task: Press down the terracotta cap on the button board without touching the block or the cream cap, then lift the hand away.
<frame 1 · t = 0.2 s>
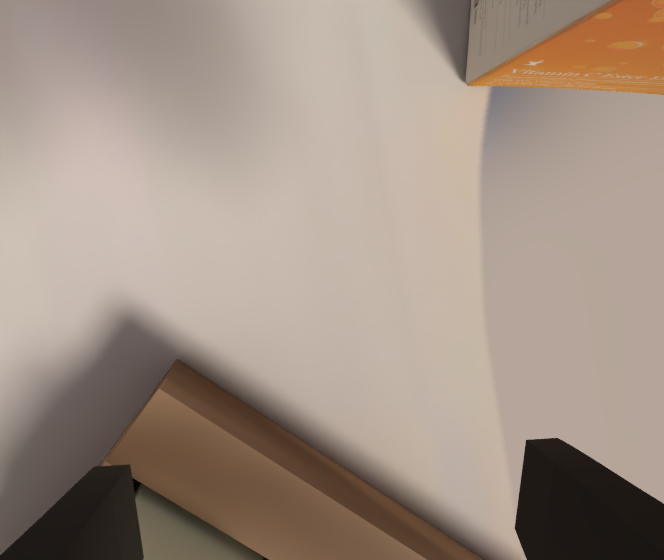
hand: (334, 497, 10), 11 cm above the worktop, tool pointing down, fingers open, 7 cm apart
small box: (573, 5, 19), on the worktop
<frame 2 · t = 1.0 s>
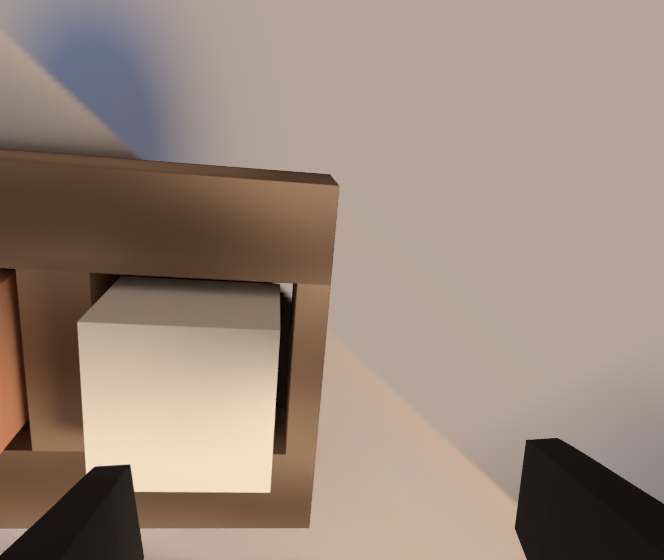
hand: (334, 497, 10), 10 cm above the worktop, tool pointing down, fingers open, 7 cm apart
cream cap: (192, 378, 16), point 4 cm above the worktop, slide at 0.0 cm
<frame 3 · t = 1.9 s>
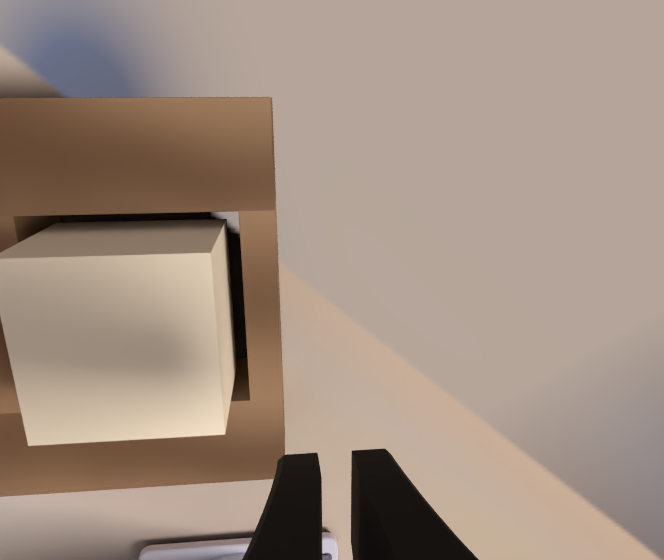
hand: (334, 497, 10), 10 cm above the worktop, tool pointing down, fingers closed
cream cap: (135, 322, 15), point 4 cm above the worktop, slide at 0.0 cm
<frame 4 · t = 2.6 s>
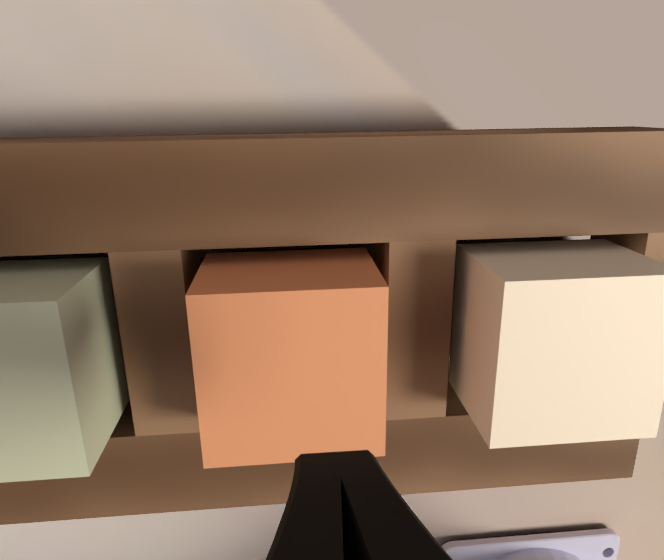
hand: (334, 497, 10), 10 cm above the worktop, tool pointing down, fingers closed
button board: (289, 306, 19), on the worktop
cream cap: (551, 335, 16), point 4 cm above the worktop, slide at 0.0 cm
block: (8, 363, 15), point 4 cm above the worktop, slide at 0.0 cm
terracotta cap: (291, 349, 16), point 4 cm above the worktop, slide at 0.0 cm
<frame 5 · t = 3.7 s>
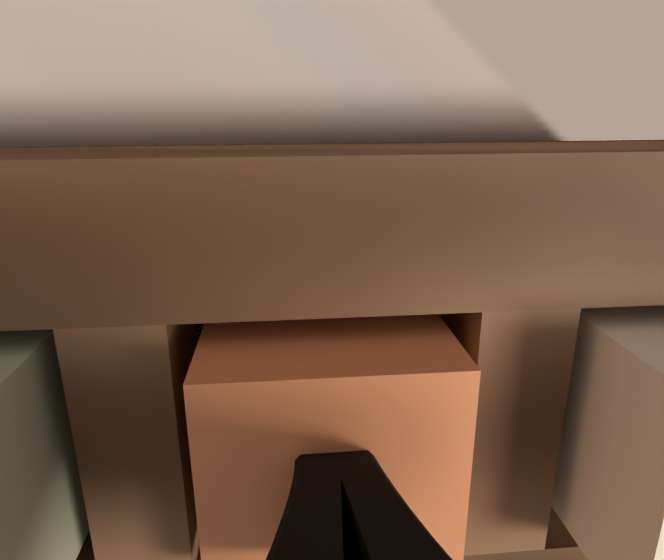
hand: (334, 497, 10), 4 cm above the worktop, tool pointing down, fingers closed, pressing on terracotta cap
button board: (319, 381, 14), on the worktop
terracotta cap: (326, 437, 12), point 2 cm above the worktop, slide at 1.1 cm, touching gripper
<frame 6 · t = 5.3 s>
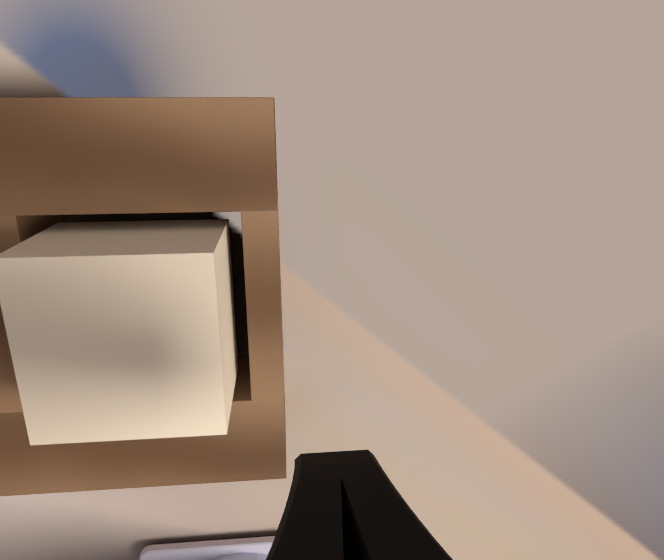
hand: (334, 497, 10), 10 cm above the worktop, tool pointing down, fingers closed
cream cap: (137, 322, 15), point 4 cm above the worktop, slide at 0.0 cm
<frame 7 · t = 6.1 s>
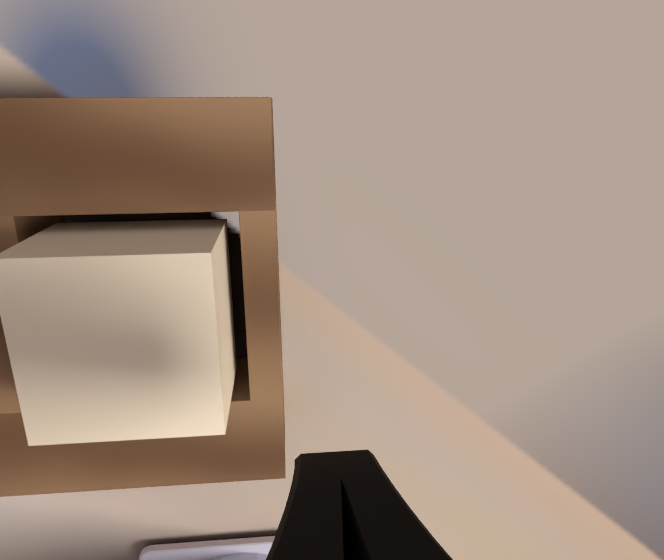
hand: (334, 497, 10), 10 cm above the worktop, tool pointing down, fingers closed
cream cap: (136, 322, 15), point 4 cm above the worktop, slide at 0.0 cm
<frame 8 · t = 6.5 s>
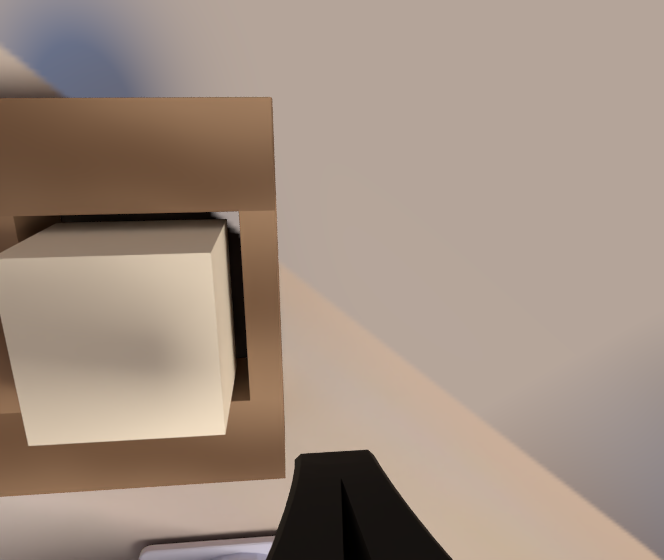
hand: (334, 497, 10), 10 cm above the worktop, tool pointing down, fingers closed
cream cap: (136, 322, 15), point 4 cm above the worktop, slide at 0.0 cm
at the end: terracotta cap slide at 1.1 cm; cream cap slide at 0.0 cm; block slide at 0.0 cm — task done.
